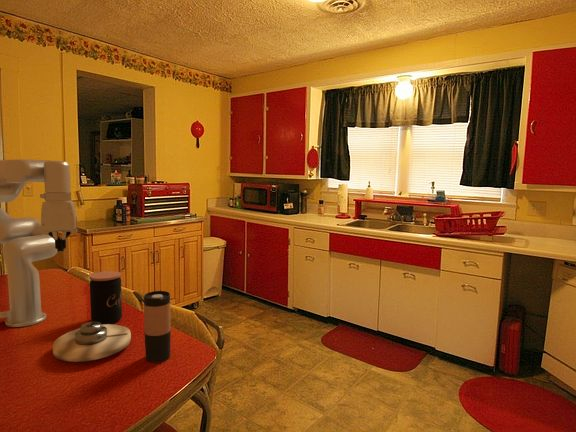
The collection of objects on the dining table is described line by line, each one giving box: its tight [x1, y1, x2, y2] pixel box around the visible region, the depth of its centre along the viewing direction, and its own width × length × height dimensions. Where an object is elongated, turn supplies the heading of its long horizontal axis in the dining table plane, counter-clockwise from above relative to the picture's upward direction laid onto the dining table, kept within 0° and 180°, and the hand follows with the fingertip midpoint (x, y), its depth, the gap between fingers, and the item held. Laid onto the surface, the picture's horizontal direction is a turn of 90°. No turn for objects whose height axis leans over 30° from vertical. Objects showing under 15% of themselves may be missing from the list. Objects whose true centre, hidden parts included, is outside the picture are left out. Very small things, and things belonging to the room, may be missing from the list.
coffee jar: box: [89, 270, 123, 325], centre depth 141 cm, size 11×11×18 cm
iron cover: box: [75, 321, 107, 345], centre depth 118 cm, size 9×9×5 cm
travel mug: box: [143, 290, 172, 364], centre depth 114 cm, size 8×8×20 cm
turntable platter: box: [52, 324, 132, 363], centre depth 119 cm, size 22×22×2 cm
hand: (60, 250), depth 129 cm, fingers closed
